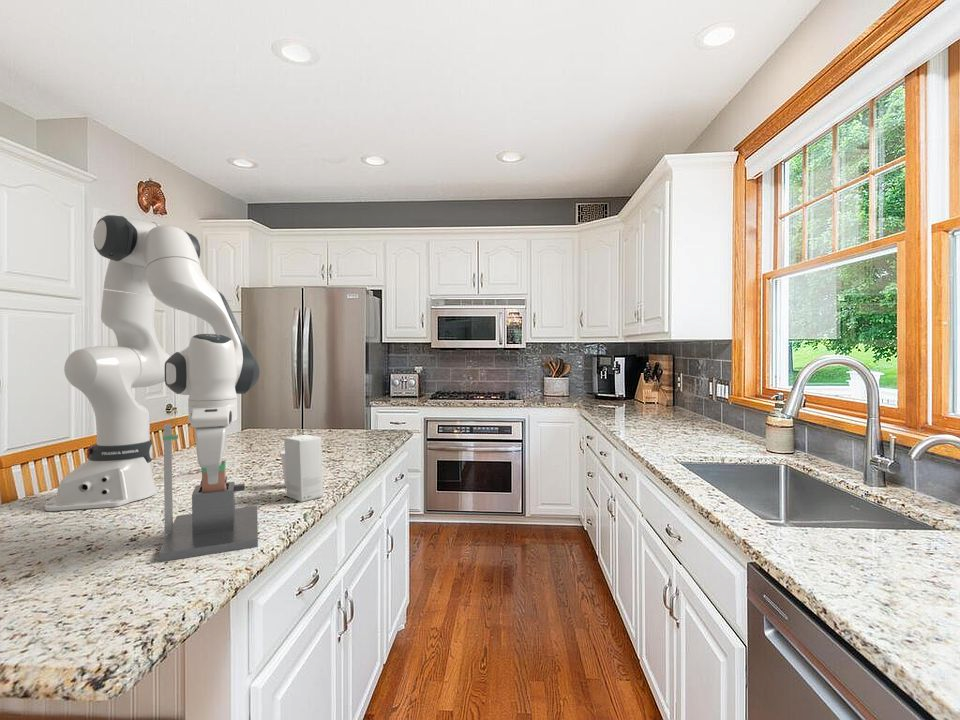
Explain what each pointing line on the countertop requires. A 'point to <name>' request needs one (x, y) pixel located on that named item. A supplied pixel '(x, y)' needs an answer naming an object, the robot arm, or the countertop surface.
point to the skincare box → (303, 467)
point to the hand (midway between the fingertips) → (214, 480)
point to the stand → (205, 518)
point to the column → (221, 479)
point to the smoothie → (283, 464)
